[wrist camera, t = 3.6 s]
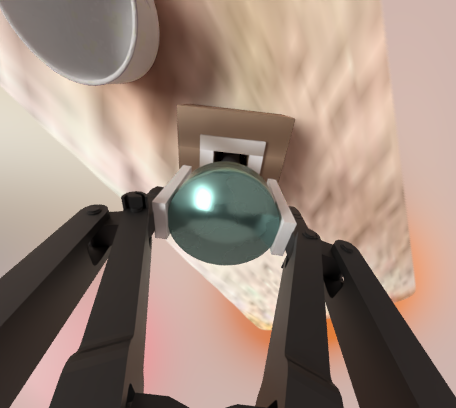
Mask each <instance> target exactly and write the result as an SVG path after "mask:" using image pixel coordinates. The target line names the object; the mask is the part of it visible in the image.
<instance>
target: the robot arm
mask: <svg viewBox="0 0 456 408" xmlns="http://www.w3.org/2000/svg"><path fill="white" fill-rule="evenodd" d="M191 167H192V166H186V165H183V166H182V167H181V168H180V169H179V170H178V172H177V173H176V174H175V175H174V176H173V178H172V179H171V180H170V181H169V182H168V183H167V185H166V186H165V187H159V186H157V187H155V188H153V189H151V190H150V191H149V193H148V194H145V193H143V192H137V191H135V192H129V193H126V194H124V195H123V196H122V197H121V199H122V204H123V209H124V210H123V211H119V212H109V210H108V207H106V206H105V205H90V206H88V207H85V208H83V209H82V210H80V211H79V212H78V213H77V214H76V215H74V216H73V217H72V218H71V219H70V220H68V221H67V222H66V223H65V224H64V225H62V226H61V227H60V228H59V229H58V230H57V231H55V232H54V233H53V234H52V235H51V236H50V237H48V238H47V239H46V240H45V241H44V242H43V243H41V244H40V245H39V246H38V247H37V248H35V249H34V250H33V251H32V252H31V253H30V254H28V255H27V256H26V257H25V258H24V259H23V260H21V261H20V262H19V263H18V264H17V265H15V266H14V267H13V268H12V269H11V270H10V271H9V272H7V273H6V274H5V275H4V276H3V277H1V278H0V408H9V407H10V406H11V404H12V403H13V401H14V400H15V398H16V397H17V395H18V394H19V392H20V391H21V389H22V388H23V386H24V385H25V383H26V381H27V380H28V378H29V377H30V375H31V374H32V372H33V371H34V369H35V368H36V366H37V365H38V363H39V362H40V360H41V359H42V357H43V356H44V354H45V353H46V351H47V350H48V348H49V347H50V345H51V344H52V342H53V341H54V339H55V338H56V336H57V334H58V333H59V331H60V330H61V328H62V327H63V325H64V324H65V322H66V321H67V319H68V318H69V316H70V315H71V313H72V311H73V310H74V309H75V307H76V306H77V304H78V303H79V301H80V299H81V298H82V297H83V295H84V294H85V292H86V290H87V289H88V287H89V286H90V284H91V283H92V281H93V280H94V278H95V277H96V275H97V274H98V272H99V271H100V269H101V268H102V266H103V265H104V263H105V262H106V260H107V259H108V260H107V264H106V267H105V270H104V273H103V276H102V279H101V282H100V285H99V289H98V292H97V295H96V298H95V301H94V304H93V307H92V311H91V314H90V317H89V320H88V323H87V326H86V330H85V333H84V336H83V339H82V342H81V345H80V347H79V349H78V351H77V352H76V353H74V354H73V355H72V356H70V358H69V359H68V361H67V362H66V364H65V366H64V368H63V370H62V373H61V375H60V378H59V381H58V384H57V386H56V389H55V392H54V395H53V398H52V401H51V404H50V406H49V408H189V407H187V406H185V405H183V404H182V403H180V402H178V401H176V400H175V399H173V398H171V397H169V396H161V395H152V394H144V393H143V391H144V376H143V364H144V350H145V335H146V321H147V320H146V319H147V307H148V292H149V278H150V263H151V249H152V234H153V233H154V231H155V238H162V239H167V238H168V236H169V234H170V231H169V227H168V208H169V205H170V203H171V201H172V199H173V198H174V196H175V194H176V193H177V191H178V190H179V188H180V187H181V185H182V184H183V182H184V181H185V179H186V178H187V177H188V176H189V175H190V174H191ZM267 185H268V187H269V189H270V191H271V194H272V197H273V199H274V202H275V205H276V208H277V211H278V214H279V224H280V225H279V230H278V233H277V235H276V238H275V240H274V243H273V244H272V245H271V247H270V250H271V254H272V255H279V256H283V254H284V251H285V250H286V253H287V256H286V258H285V260H284V262H283V265H282V267H281V268H283V272H282V277H281V283H280V288H279V294H278V299H277V305H276V310H275V316H274V321H273V327H272V332H271V338H270V343H269V349H268V355H267V360H266V365H265V371H264V377H263V381H262V385H261V388H260V391H259V394H258V397H257V401H256V405H255V406H248V405H239V404H237V405H233V406H230V407H227V408H344V407H343V402H342V397H341V394H340V392H339V389H338V388H337V387H336V386H335V385H334V384H333V383H332V380H331V376H330V365H329V351H328V337H327V323H326V309H325V302H326V305H327V308H328V311H329V314H330V317H331V321H332V324H333V327H334V330H335V333H336V336H337V339H338V342H339V345H340V348H341V351H342V355H343V358H344V361H345V364H346V367H347V370H348V373H349V376H350V379H351V382H352V386H353V389H354V392H355V395H356V398H357V401H358V404H359V407H360V408H456V397H455V395H454V394H453V392H452V391H451V389H450V388H449V386H448V385H447V383H446V382H445V380H444V379H443V378H442V376H441V374H440V373H439V371H438V370H437V368H436V367H435V365H434V364H433V362H432V361H431V359H430V358H429V356H428V355H427V353H426V352H425V350H424V349H423V347H422V346H421V344H420V343H419V341H418V340H417V338H416V336H415V335H414V334H413V332H412V330H411V329H410V328H409V326H408V324H407V323H406V321H405V320H404V318H403V317H402V315H401V314H400V312H399V311H398V309H397V308H396V307H395V305H394V303H393V302H392V300H391V299H390V297H389V296H388V294H387V293H386V291H385V290H384V288H383V287H382V285H381V284H380V282H379V281H378V279H377V278H376V276H375V275H374V273H373V272H372V270H371V269H370V267H369V266H368V264H367V263H366V261H365V260H364V258H363V256H362V255H361V253H360V252H359V250H358V249H357V248H356V247H355V246H353V245H352V244H351V243H349V242H346V241H343V240H336V241H335V243H334V244H333V245H332V244H329V243H326V242H324V241H321V239H320V236H319V235H318V234H317V233H316V232H314V231H313V230H310V229H308V227H307V225H306V223H305V221H304V220H303V218H302V216H301V214H300V212H299V211H298V210H297V209H296V208H295V207H291V206H288V204H287V202H286V200H285V198H284V196H283V194H282V192H281V189H280V187H279V185H278V183H277V181H276V180H274V179H268V180H267ZM342 277H344V281H343V278H342Z"/></svg>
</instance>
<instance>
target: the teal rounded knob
mask: <svg viewBox="0 0 456 408" xmlns="http://www.w3.org/2000/svg"><path fill="white" fill-rule="evenodd" d="M279 225H280V224H279V214H278V211H277V208H276V205H275V202H274V199H273V197H272V194H271V191H270V189H269V187H268V185H267V183H266V182H265V180H264V179H263V178H262V177H261V176H260V175H259V174H258V173H257V172H255V171H254V170H253V169H251V168H249V167H247V166H245V165H242V164H240V155H239V154H236V153H228V152H224V154H223V156H222V160H221V162H213V163H209V164H206V165H204V166H201V167H199V168H198V169H196V170H195V171H193V172H192V173H191V174H190V175H189V176H188V177H187V178H186V179H185V181H184V182H183V184H182V185H181V187H180V188H179V190H178V191H177V193H176V194H175V196H174V198H173V199H172V201H171V203H170V205H169V208H168V227H169V231H170V233H171V235H172V237H173V239H174V240H175V242H176V243H177V244H178V245H179V246H180V247H181V248H182V249H183V250H184V251H185V252H186V253H188V254H189V255H191V256H192V257H194V258H196V259H198V260H201V261H204V262H207V263H210V264H216V265H237V264H242V263H245V262H248V261H251V260H253V259H255V258H257V257H259V256H260V255H262V254H263V253H265V252H266V251H267V250H268V249H269V248H270V247H271V245H272V244H273V243H274V240H275V238H276V235H277V233H278V230H279Z"/></svg>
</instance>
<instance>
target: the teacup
mask: <svg viewBox="0 0 456 408" xmlns="http://www.w3.org/2000/svg"><path fill="white" fill-rule="evenodd" d="M0 9H1V11H2V13H3V14H4V16H5V18H6V19H7V21H8V22H9V24H10V25H11V27H12V28H13V29H14V31H15V32H16V34H17V35H18V36H19V38H20V39H21V40H22V41H23V42H24V44H25V45H26V46H27V47H28V48H29V49H30V50H31V52H33V53H34V54H35V55H36V56H37V57H38V58H39V59H40V60H41V61H42V62H43V63H45V64H46V65H47V66H48V67H50V68H51V69H52V70H53V71H55V72H56V73H58V74H60V75H61V76H63V77H65V78H67V79H69V80H71V81H74V82H76V83H80V84H85V85H91V86H97V85H104V84H121V83H128V82H133V81H135V80H137V79H139V78H141V77H142V76H144V75H145V74H146V73H147V72H148V71H149V69H150V68H151V67H152V65H153V63H154V61H155V58H156V55H157V52H158V47H159V34H160V33H159V21H158V15H157V10H156V7H155V3H154V0H0Z"/></svg>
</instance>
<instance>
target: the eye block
mask: <svg viewBox="0 0 456 408" xmlns="http://www.w3.org/2000/svg"><path fill="white" fill-rule="evenodd" d="M294 122H295V119H294V118H291V117H288V116H285V115H281V114H272V113H263V112H255V111H246V110H238V109H229V108H221V107H212V106H204V105H195V104H183V105H177V127H178V149H179V169H180V168H181V167H182V166H183V165H186V166H192V167H191V173H192V172H193V171H195V170H196V169H198V168H199V167H201V166H204V165H206V164H209V163H213V162H217V161H218V151H219V152H228V153H236V154H245V160H244V165H245V166H247V167H249V168H251V169H253V170H254V171H255V172H257V173H258V174H259V175H260V176H261V177H262V178H263V179H264V180H265V182H266V183H267V180H268V179H274V180H276V181H277V183H278V181H279V178H280V174H281V170H282V167H283V163H284V159H285V155H286V152H287V148H288V144H289V141H290V137H291V133H292V130H293V126H294Z"/></svg>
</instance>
